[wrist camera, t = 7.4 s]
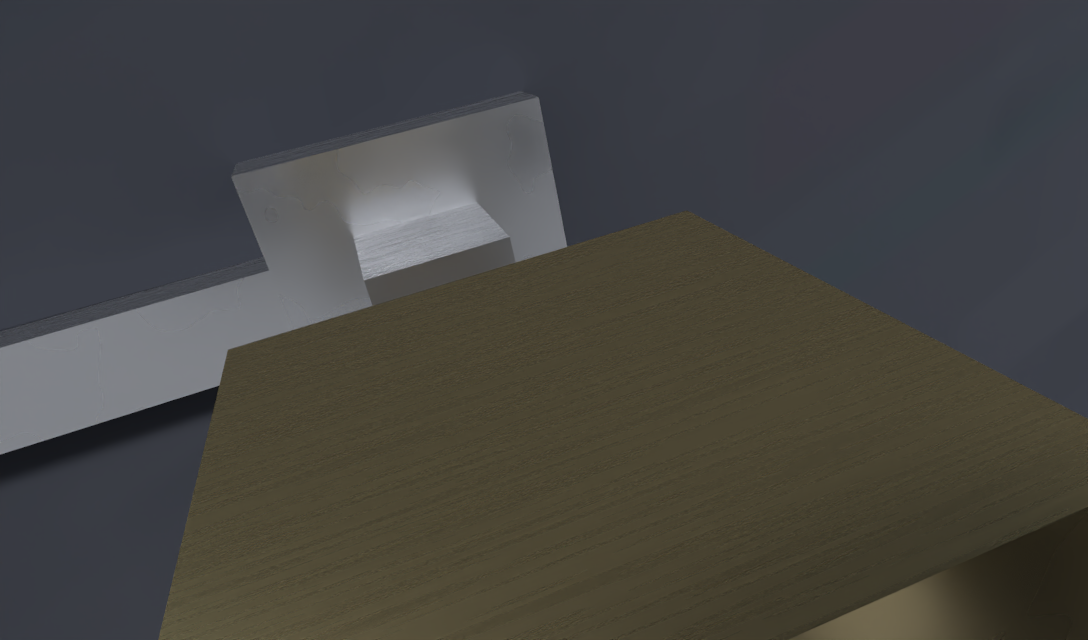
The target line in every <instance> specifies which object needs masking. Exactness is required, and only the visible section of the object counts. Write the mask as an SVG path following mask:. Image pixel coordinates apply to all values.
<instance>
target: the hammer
mask: <svg viewBox="0 0 1088 640" xmlns="http://www.w3.org/2000/svg"><path fill="white" fill-rule="evenodd" d="M231 178H232V180H233V182H234V185H235V187H236V190H237V192H238V195H239V197H240V200H241V202H242V205H243V207H244V210H245V212H246V214H247V217H248V219H249V222H250V224H251V227H252V229H253V232H254V234H255V237H256V239H257V242H258V244H259V246H260V249H261V251H262V254H263V256H264V257H262V258H258V259H255V260H251V261H248V262H244V263H241V264H237V265H234V266H230V267H226V268H223V269H219V270H216V271H212V272H209V273H205V274H202V275H198V276H195V277H191V278H188V279H184V280H181V281H177V282H174V283H170V284H166V285H163V286H159V287H156V288H152V289H149V290H145V291H142V292H138V293H135V294H131V295H128V296H124V297H121V298H117V299H114V300H110V301H106V302H103V303H99V304H96V305H92V306H89V307H85V308H82V309H78V310H75V311H71V312H68V313H64V314H61V315H57V316H54V317H50V318H47V319H43V320H39V321H36V322H32V323H29V324H25V325H22V326H18V327H15V328H11V329H8V330H4V331H1V332H0V454H4V453H7V452H10V451H13V450H16V449H19V448H23V447H26V446H29V445H32V444H35V443H38V442H42V441H45V440H48V439H51V438H54V437H57V436H61V435H64V434H67V433H70V432H73V431H77V430H80V429H83V428H86V427H89V426H92V425H96V424H99V423H102V422H105V421H108V420H111V419H115V418H118V417H121V416H124V415H127V414H130V413H134V412H137V411H140V410H143V409H146V408H150V407H153V406H156V405H159V404H162V403H165V402H169V401H172V400H175V399H178V398H181V397H184V396H188V395H191V394H194V393H197V392H200V391H203V390H207V389H210V388H213V387H216V386H219V385H220V381H221V377H222V372H223V368H224V364H225V360H226V356H227V352H228V350H229V349H232V348H235V347H238V346H242V345H245V344H248V343H252V342H255V341H258V340H262V339H265V338H268V337H271V336H275V335H278V334H281V333H285V332H288V331H291V330H295V329H298V328H301V327H304V326H308V325H311V324H314V323H318V322H321V321H324V320H328V319H331V318H334V317H337V316H341V315H344V314H347V313H351V312H354V311H357V310H361V309H364V308H367V307H370V306H374V305H377V304H380V303H384V302H387V301H390V300H394V299H397V298H400V297H403V296H407V295H410V294H413V293H417V292H420V291H423V290H427V289H430V288H433V287H436V286H440V285H443V284H446V283H450V282H453V281H456V280H460V279H463V278H466V277H469V276H473V275H476V274H479V273H483V272H486V271H489V270H493V269H496V268H499V267H502V266H506V265H509V264H512V263H516V262H519V261H522V260H526V259H529V258H532V257H535V256H539V255H542V254H545V253H549V252H552V251H555V250H559V249H562V248H565V247H567V244H566V239H565V233H564V228H563V223H562V218H561V212H560V207H559V202H558V197H557V192H556V186H555V181H554V176H553V171H552V165H551V160H550V155H549V150H548V144H547V139H546V134H545V129H544V123H543V118H542V113H541V108H540V102H539V97H537V96H534V95H531V94H528V93H525V92H522V91H520V92H516V93H512V94H508V95H504V96H500V97H496V98H492V99H488V100H484V101H481V102H477V103H473V104H469V105H465V106H461V107H457V108H453V109H449V110H445V111H441V112H437V113H433V114H429V115H425V116H421V117H418V118H414V119H410V120H406V121H402V122H398V123H394V124H390V125H386V126H382V127H378V128H374V129H370V130H366V131H362V132H358V133H355V134H351V135H347V136H343V137H339V138H335V139H331V140H327V141H323V142H319V143H315V144H311V145H307V146H303V147H299V148H295V149H291V150H288V151H284V152H280V153H276V154H272V155H268V156H264V157H260V158H256V159H252V160H248V161H244V162H240V163H237V164H236V166H235V168H234V171H233V173H232V176H231Z"/></svg>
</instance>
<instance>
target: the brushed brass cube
mask: <svg viewBox="0 0 1088 640" xmlns="http://www.w3.org/2000/svg"><path fill="white" fill-rule="evenodd" d="M159 640H1088V419H1087V418H1085V417H1083V416H1081V415H1079V414H1077V413H1075V412H1073V411H1071V410H1069V409H1068V408H1066V407H1064V406H1062V405H1060V404H1058V403H1056V402H1054V401H1052V400H1050V399H1048V398H1046V397H1044V396H1043V395H1041V394H1039V393H1037V392H1035V391H1033V390H1031V389H1029V388H1027V387H1025V386H1023V385H1021V384H1019V383H1018V382H1016V381H1014V380H1012V379H1010V378H1008V377H1006V376H1004V375H1002V374H1000V373H998V372H996V371H994V370H993V369H991V368H989V367H987V366H985V365H983V364H981V363H979V362H977V361H975V360H973V359H971V358H970V357H968V356H966V355H964V354H962V353H960V352H958V351H956V350H954V349H952V348H950V347H948V346H946V345H945V344H943V343H941V342H939V341H937V340H935V339H933V338H931V337H929V336H927V335H925V334H923V333H921V332H920V331H918V330H916V329H914V328H912V327H910V326H908V325H906V324H904V323H902V322H900V321H898V320H896V319H895V318H893V317H891V316H889V315H887V314H885V313H883V312H881V311H879V310H877V309H875V308H873V307H871V306H870V305H868V304H866V303H864V302H862V301H860V300H858V299H856V298H854V297H852V296H850V295H848V294H846V293H845V292H843V291H841V290H839V289H837V288H835V287H833V286H831V285H829V284H827V283H825V282H823V281H821V280H820V279H818V278H816V277H814V276H812V275H810V274H808V273H806V272H804V271H802V270H800V269H798V268H796V267H795V266H793V265H791V264H789V263H787V262H785V261H783V260H781V259H779V258H777V257H775V256H773V255H771V254H770V253H768V252H766V251H764V250H762V249H760V248H758V247H756V246H754V245H752V244H750V243H748V242H747V241H745V240H743V239H741V238H739V237H737V236H735V235H733V234H731V233H729V232H727V231H725V230H723V229H722V228H720V227H718V226H716V225H714V224H712V223H710V222H708V221H706V220H704V219H702V218H700V217H698V216H697V215H695V214H693V213H691V212H689V211H684V212H681V213H677V214H674V215H671V216H667V217H664V218H661V219H658V220H654V221H651V222H648V223H644V224H641V225H638V226H634V227H631V228H628V229H625V230H621V231H618V232H615V233H611V234H608V235H605V236H601V237H598V238H595V239H592V240H588V241H585V242H582V243H578V244H575V245H572V246H568V247H565V248H562V249H559V250H555V251H552V252H549V253H545V254H542V255H539V256H535V257H532V258H529V259H526V260H522V261H519V262H516V263H512V264H509V265H506V266H502V267H499V268H496V269H493V270H489V271H486V272H483V273H479V274H476V275H473V276H469V277H466V278H463V279H460V280H456V281H453V282H450V283H446V284H443V285H440V286H436V287H433V288H430V289H427V290H423V291H420V292H417V293H413V294H410V295H407V296H403V297H400V298H397V299H394V300H390V301H387V302H384V303H380V304H377V305H374V306H370V307H367V308H364V309H361V310H357V311H354V312H351V313H347V314H344V315H341V316H337V317H334V318H331V319H328V320H324V321H321V322H318V323H314V324H311V325H308V326H304V327H301V328H298V329H295V330H291V331H288V332H285V333H281V334H278V335H275V336H271V337H268V338H265V339H262V340H258V341H255V342H252V343H248V344H245V345H242V346H238V347H235V348H232V349H229V350H228V352H227V356H226V360H225V364H224V368H223V372H222V377H221V381H220V385H219V389H218V393H217V398H216V402H215V406H214V410H213V414H212V418H211V423H210V427H209V431H208V435H207V439H206V444H205V448H204V452H203V456H202V460H201V464H200V469H199V473H198V477H197V481H196V485H195V490H194V494H193V498H192V502H191V506H190V510H189V515H188V519H187V523H186V527H185V531H184V536H183V540H182V544H181V548H180V552H179V556H178V561H177V565H176V569H175V573H174V577H173V582H172V586H171V590H170V594H169V598H168V602H167V607H166V611H165V615H164V619H163V623H162V628H161V632H160V636H159Z"/></svg>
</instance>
